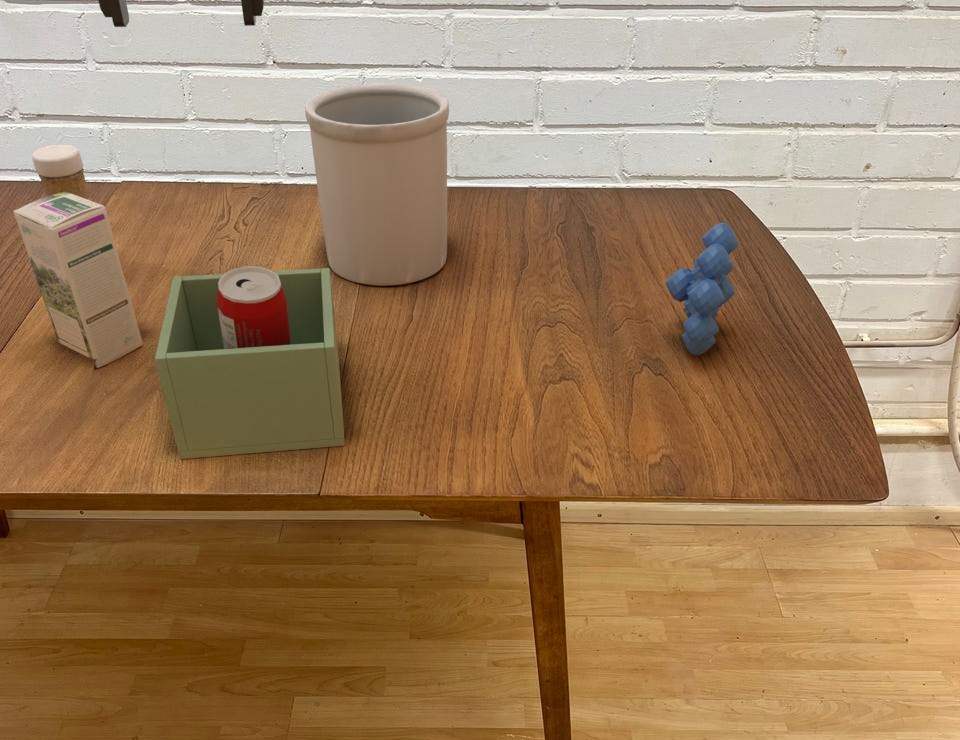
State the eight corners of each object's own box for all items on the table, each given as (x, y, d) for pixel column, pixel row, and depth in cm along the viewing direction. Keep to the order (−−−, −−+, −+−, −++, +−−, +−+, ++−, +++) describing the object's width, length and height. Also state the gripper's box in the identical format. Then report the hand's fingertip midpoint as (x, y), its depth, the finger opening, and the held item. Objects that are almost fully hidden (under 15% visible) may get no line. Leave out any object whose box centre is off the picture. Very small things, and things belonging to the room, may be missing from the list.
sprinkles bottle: (110, 260, 101) (78, 140, 93) (112, 277, 98) (79, 155, 90) (67, 265, 100) (31, 145, 92) (68, 284, 97) (30, 161, 88)
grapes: (666, 308, 95) (684, 199, 87) (730, 319, 93) (754, 209, 86) (646, 363, 86) (664, 248, 79) (716, 376, 85) (742, 260, 77)
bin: (180, 459, 74) (154, 358, 68) (194, 370, 84) (173, 276, 78) (344, 446, 76) (334, 346, 69) (339, 360, 86) (329, 267, 80)
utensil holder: (296, 255, 103) (276, 98, 92) (398, 221, 111) (391, 72, 100) (372, 303, 95) (360, 136, 84) (476, 262, 102) (479, 105, 91)
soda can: (308, 392, 80) (299, 277, 71) (266, 424, 77) (251, 308, 68) (261, 368, 82) (247, 253, 73) (219, 398, 78) (198, 282, 70)
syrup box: (145, 345, 88) (108, 202, 78) (95, 371, 84) (50, 225, 74) (108, 327, 90) (68, 187, 81) (57, 352, 86) (9, 208, 77)
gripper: (264, -283, 54) (293, 11, 65) (18, -293, 52) (88, 11, 63) (259, -285, 49) (291, 37, 59) (-18, -296, 47) (66, 39, 57)
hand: (186, 23), depth 61 cm, fingers open, 8 cm apart
